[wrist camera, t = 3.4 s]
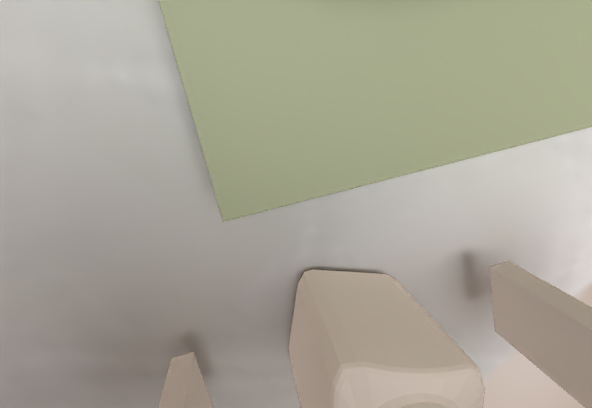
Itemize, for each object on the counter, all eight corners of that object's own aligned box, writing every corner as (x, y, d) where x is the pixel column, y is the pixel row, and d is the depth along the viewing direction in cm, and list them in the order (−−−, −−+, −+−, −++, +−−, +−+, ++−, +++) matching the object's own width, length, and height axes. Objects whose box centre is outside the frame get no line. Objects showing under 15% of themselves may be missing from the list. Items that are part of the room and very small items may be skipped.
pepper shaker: (284, 353, 15) (355, 719, 6) (297, 262, 14) (402, 530, 5) (376, 355, 16) (563, 685, 7) (394, 268, 15) (637, 513, 6)
